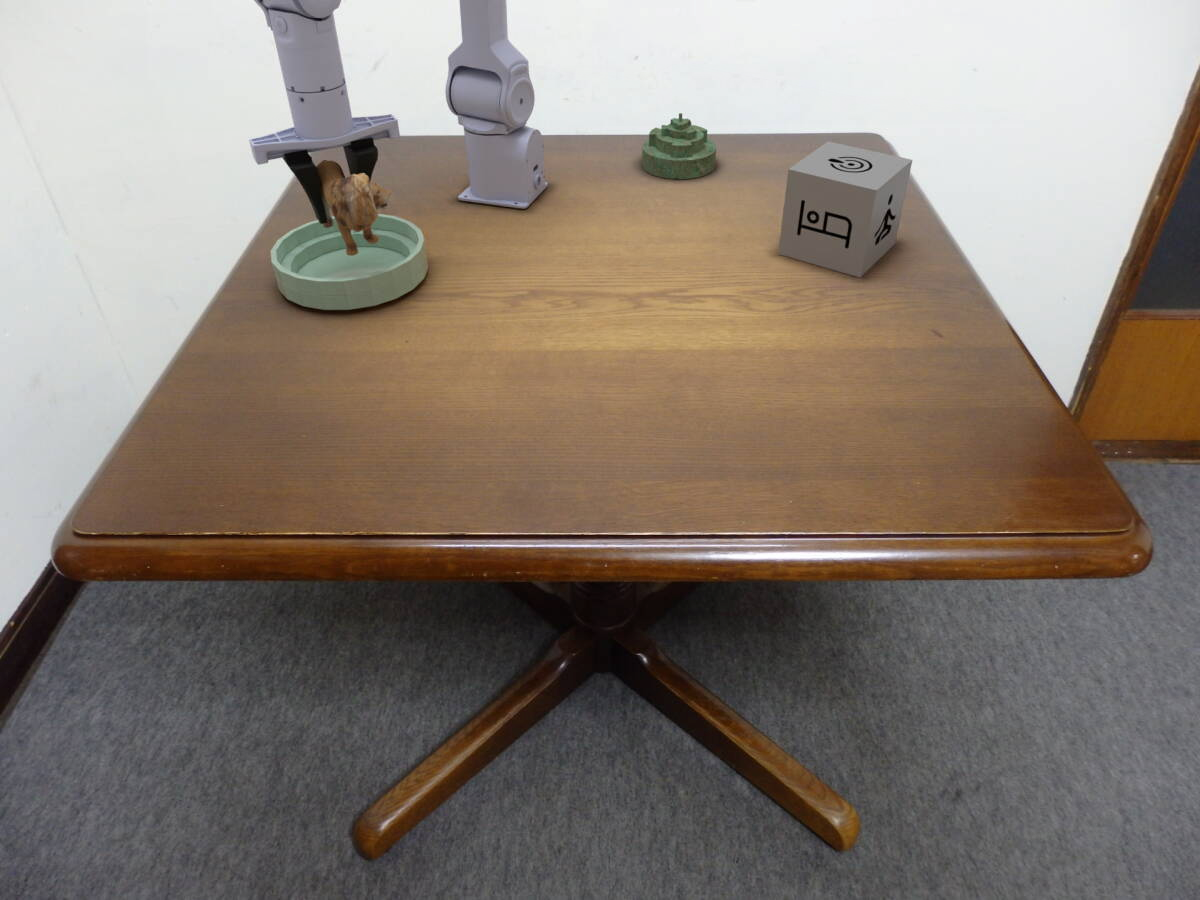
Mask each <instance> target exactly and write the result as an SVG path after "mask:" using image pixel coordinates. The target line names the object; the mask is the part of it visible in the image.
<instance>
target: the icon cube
mask: <svg viewBox="0 0 1200 900" xmlns="http://www.w3.org/2000/svg"><path fill="white" fill-rule="evenodd" d="M912 164H913V159H911V158H906V157H902V156H896V155H892V154H887V153H883V152H878V151H873V150H870V149H865V148H861V147H856V146H852V145H848V144H842V143H838V142H833V141H826V142H825V143H823V144H822V145H821V146H819V147H818V148H817V149H815V150H814V151H812V152H811V153H809V154H808V155H806V156H805V157H803V158H802V159H801V160H800V161H798V162H797V163H794V164H793V165H792V166H791V167H789V168H788V169H787V171H788V172H787V177H786V179H787V180H786V186H785V193H784V203H783V210H782V219H781V226H780V227H781V228H780V235H779V243H778V251H777V254H778V255H780V256H784V257H786V258H787V257H788V258H790V259H795V260H798V261H801V262H805V263H808V264H812V265H815V266H818V267H822V268H825V269H829V270H833V271H836V272H839V273H843V274H845V275H846V274H847V275H849V276H853V277H856V278H861V277H863V276H864V275H865V274H866V273H867V272H868V271H869V270H870V269H871V268H872V267H873V266H874V265H875V264H876V263H877V262H879V260H880V259H881V258H882V257H883V256H884V255H885V254H886V253H888V251H890V250H891V248H893V246H895V244H896V240H897V236H898V232H899V226H900V221H901V217H902V212H903V207H904V203H905V198H906V194H907V189H908V183H909V178H910V175H911V170H912Z"/></svg>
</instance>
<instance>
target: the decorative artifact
mask: <svg viewBox="0 0 1200 900" xmlns="http://www.w3.org/2000/svg"><path fill="white" fill-rule="evenodd" d="M641 149H642V151H641V153H642V154H641V166H642V168H643V170H644V171H645V172H646V173H648V174H650V175H652V176H655V177H658V178H663V179H668V180H669V179H670V180H692V179H698V178H700V177H704V176H706V175H709V174H710V173H712V172H713V171H714V170H715V168H716V167H715V166H716V157H717V145H716V143H715V142H714V141H712V140H711V139H709V138H708V129H707V128H704V127H702V126H700V125H696V124H692V121H691V119H689V118H683V112H679V113H678V118H676V117H673V118H671V119H670V123H669V124H661V128H659V127H654V128H652V129H651V130H650V131H649V133H648V139H647V140H645V141H644V142H643V144H642V147H641Z"/></svg>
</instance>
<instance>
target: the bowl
mask: <svg viewBox="0 0 1200 900" xmlns="http://www.w3.org/2000/svg"><path fill="white" fill-rule="evenodd" d="M331 217H332V219H333V222H334V225H333V226H332V227H329V228H325V227H324V226H323V224H320V222H319V221H318V219H317V220H313V221H309V222H307V223H304V224H301V225H299V226H298V227H295V228H293V229H291V230H289V231H288V232H287V233H285V234H283V236H281V237H280V238H278V239H277V240H276V242H275V243H274V245H273V247H272V248H271V250H270V262H271V266H272V269H273V274H274V277H275V280H276V281H275V282H276V285H277V288H278V290H279V292H280V293H281V294H282V295H283V296H284V298H286V299H287V300H288V301H290V302H292V303H295V304H297V305H299V306H301V307H304V308H305V307H306V308H312V309H316V310H317V309H318V310H322V311H349V310H350V311H352V310H355V309H356V310H357V309H362V308H363V309H364V308H371V307H375V306H378V305H381V304H385V303H388V302H390V301H393V300H396V299H398V298H400V297H402V296H404V295H405V294H407V293H409V292H411V291H413V290H415V288H416V287H418V285H419V284H420V283H422V281H423V280H424V279H425V278H426V275H427V272H428V270H429V261H428V255H427V248H426V240H425V238H424V234H423V231H422V229H420V228H419V226H417V225H416V224H415V223H413V222H412V221H409V220H407V219H404V218H402V217H399V216H397V215H389V214H383V213H378V218H377V219H376V220H375V221H374V222H373V224H372V225H371V231H372V234H373V235H377V236H378V237H379V240H378V242H377V243H375V244H370V243H368V242H367V241H366V240H365V239H364V236H363V231H360V232H356V231H353V230H352V229H351V235H352V238H353V240H354V242H355V243H356V245H357V249H358V254H356V255H354V256H350V255H347V253H346V244H345V241H344V239H343V237H342V235H341V233H340V231H339V229H338V225H337V221H336V219H335V217H334V215H331Z"/></svg>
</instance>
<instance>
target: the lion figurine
mask: <svg viewBox="0 0 1200 900" xmlns="http://www.w3.org/2000/svg"><path fill="white" fill-rule="evenodd" d="M316 167H317V174H318V181H319V188H320V194H321V198H322V201H323V205H324V208H325V212H326V216H327V222H328V223H324V224H323V226H324V227H325V228H329V227H332V226H333V225H334V222H333V219H332V217H331V216H334V217H335V219H336V221H337V225H338V229H339V231H340V233H341V235H342V237H343V239H344V241H345V244H346V253H347V255H350V256H354V255H356V254H358V249H357V245H356V243H355V242H354V240H353V238H352V235H351V229H352V230H353V231H356V232H360V231H363V236H364V239H365V240H366V241H367V242H368V243H370V244H375V243H377V242H378V240H379V237H378V236H377V235H373V234H372V231H371V225H372V224H373V222H374V221H375V220H376V219H377V218H378V214H379V209H381V210H386V209H388V203H389V201H390V198H391V196H390V195H392V191H391V190H390V189H387V188H384V187H381V186H380V185H378V184H377V183H376V182H374V181H370V180H369V177H368V176H367V175H366V174H365V173H360V174H357V175H355V174H353V175H350V174H349V175H348V176H346V174H345V173H344V170H343V168H342V166H341V165H340V163H339V162H337V161H335V160H327V159H323V160H322V161H321V162H319V163H318V164H317V165H316Z"/></svg>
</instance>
